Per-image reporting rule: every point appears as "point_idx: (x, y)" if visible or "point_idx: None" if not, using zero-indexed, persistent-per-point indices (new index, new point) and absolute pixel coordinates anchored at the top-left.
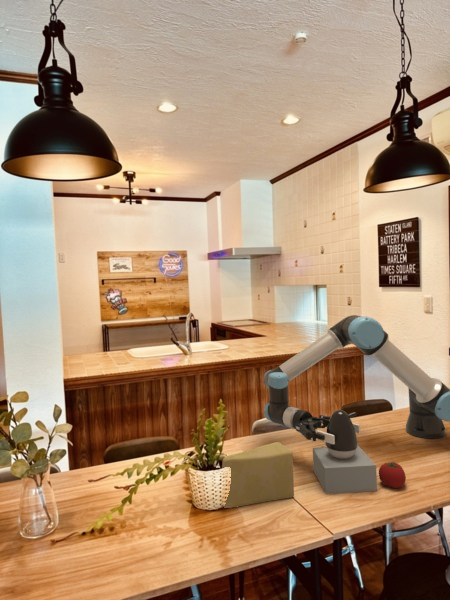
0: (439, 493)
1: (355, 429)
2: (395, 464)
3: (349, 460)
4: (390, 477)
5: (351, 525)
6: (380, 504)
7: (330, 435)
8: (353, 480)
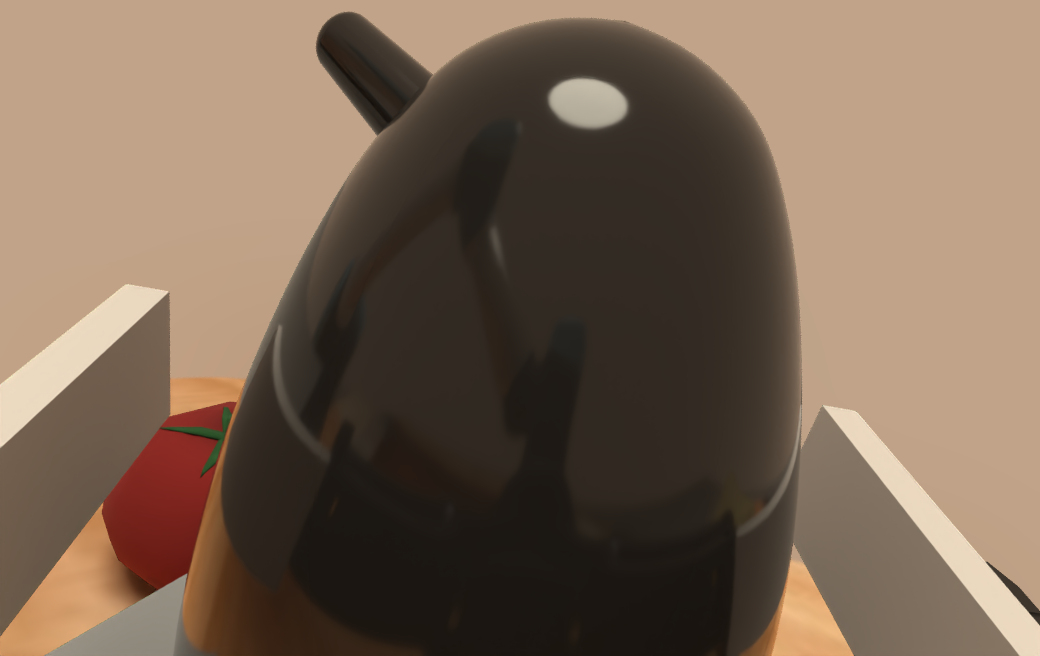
0: (201, 389)
1: (139, 408)
2: (199, 421)
3: None
4: None
5: (800, 570)
6: None
7: (878, 441)
8: None
